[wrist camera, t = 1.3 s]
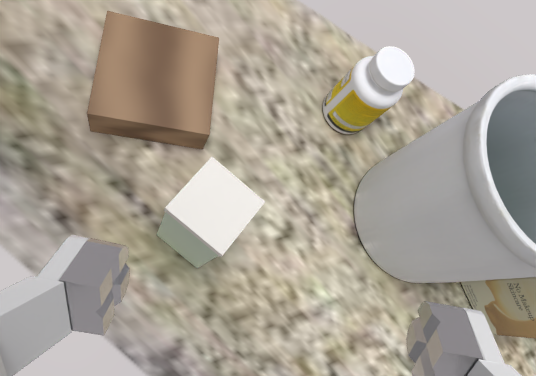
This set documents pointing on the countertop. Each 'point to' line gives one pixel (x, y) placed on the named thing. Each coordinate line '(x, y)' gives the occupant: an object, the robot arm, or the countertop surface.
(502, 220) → the utensil holder
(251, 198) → the canister
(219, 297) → the countertop surface
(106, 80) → the walnut block
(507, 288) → the skincare box
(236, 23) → the countertop surface
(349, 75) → the supplement bottle
